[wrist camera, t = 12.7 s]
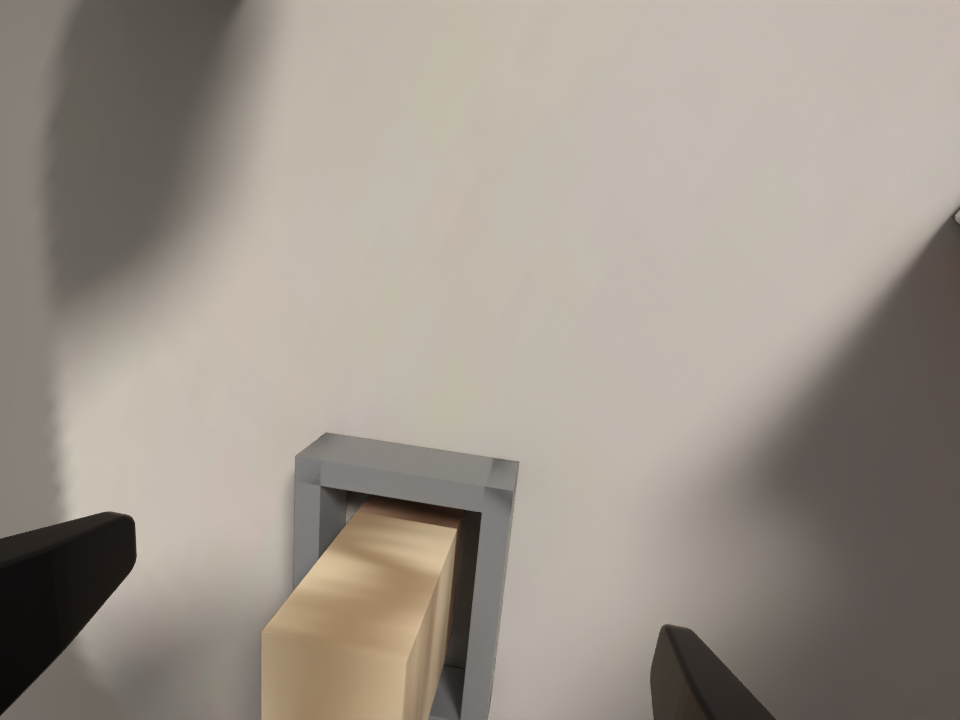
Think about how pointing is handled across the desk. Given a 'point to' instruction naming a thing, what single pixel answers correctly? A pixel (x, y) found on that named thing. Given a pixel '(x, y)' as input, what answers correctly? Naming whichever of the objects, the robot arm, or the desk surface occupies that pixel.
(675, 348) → the desk surface
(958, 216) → the skincare box
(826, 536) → the desk surface
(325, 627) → the block
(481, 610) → the collar
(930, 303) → the desk surface
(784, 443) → the desk surface
